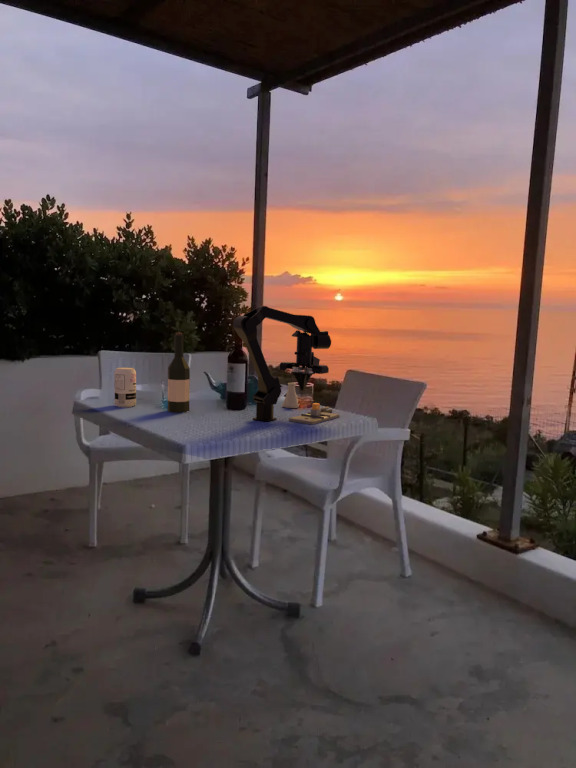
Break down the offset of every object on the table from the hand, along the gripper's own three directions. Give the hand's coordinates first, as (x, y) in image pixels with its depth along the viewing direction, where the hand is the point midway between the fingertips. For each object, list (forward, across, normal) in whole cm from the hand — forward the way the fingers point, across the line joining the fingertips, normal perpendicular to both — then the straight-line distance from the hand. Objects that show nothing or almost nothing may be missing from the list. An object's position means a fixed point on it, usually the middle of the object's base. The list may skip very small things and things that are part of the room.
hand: (302, 390), depth 223 cm
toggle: (+9, -6, 0) cm, 11 cm away
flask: (+10, +15, -16) cm, 24 cm away
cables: (+10, -2, -12) cm, 16 cm away
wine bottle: (+10, +42, +22) cm, 49 cm away
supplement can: (+10, +65, +28) cm, 72 cm away
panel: (+10, -6, 0) cm, 12 cm away
